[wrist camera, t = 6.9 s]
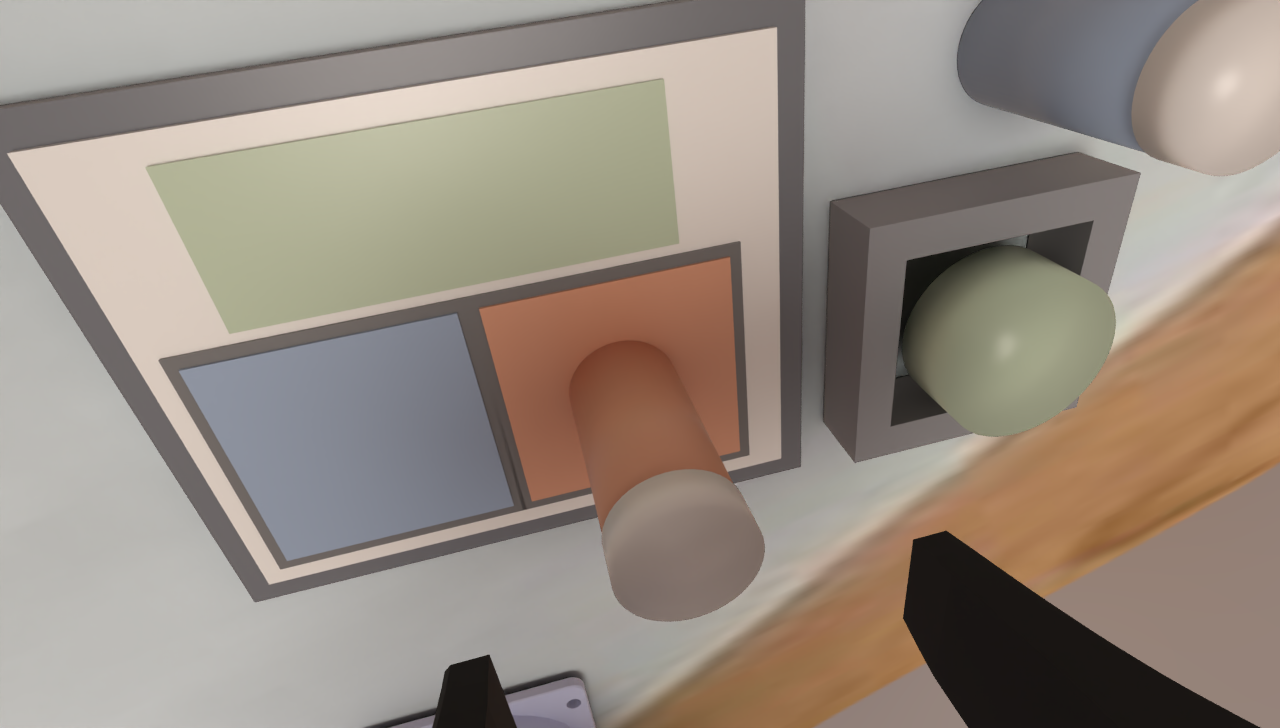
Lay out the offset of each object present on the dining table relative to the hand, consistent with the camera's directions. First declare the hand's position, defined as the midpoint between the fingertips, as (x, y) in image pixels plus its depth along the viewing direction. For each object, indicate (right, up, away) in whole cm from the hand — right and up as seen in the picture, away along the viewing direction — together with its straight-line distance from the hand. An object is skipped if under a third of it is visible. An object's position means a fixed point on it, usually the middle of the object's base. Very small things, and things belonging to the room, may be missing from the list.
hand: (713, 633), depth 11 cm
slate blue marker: (+8, +12, +5) cm, 15 cm away
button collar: (+7, +6, +8) cm, 13 cm away
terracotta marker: (-2, +4, +6) cm, 8 cm away
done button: (+8, +6, +7) cm, 12 cm away
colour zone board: (-5, +5, +6) cm, 9 cm away
